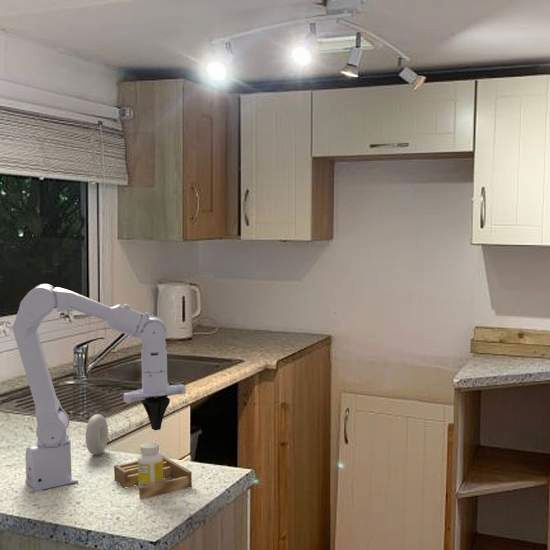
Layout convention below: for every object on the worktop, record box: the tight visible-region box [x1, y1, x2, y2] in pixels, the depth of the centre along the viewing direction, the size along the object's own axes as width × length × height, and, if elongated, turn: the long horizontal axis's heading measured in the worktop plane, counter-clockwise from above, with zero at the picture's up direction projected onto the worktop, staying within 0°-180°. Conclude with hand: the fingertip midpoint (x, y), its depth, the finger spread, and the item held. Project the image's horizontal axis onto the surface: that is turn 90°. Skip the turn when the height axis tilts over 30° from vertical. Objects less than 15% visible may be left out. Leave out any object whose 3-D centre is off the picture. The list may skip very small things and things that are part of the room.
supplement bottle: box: [137, 442, 164, 488], centre depth 162 cm, size 5×5×10 cm
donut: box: [85, 413, 109, 456], centre depth 186 cm, size 10×4×10 cm, turn 175°
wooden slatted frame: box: [113, 454, 193, 500], centre depth 166 cm, size 12×14×3 cm
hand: (156, 429), depth 171 cm, fingers closed
